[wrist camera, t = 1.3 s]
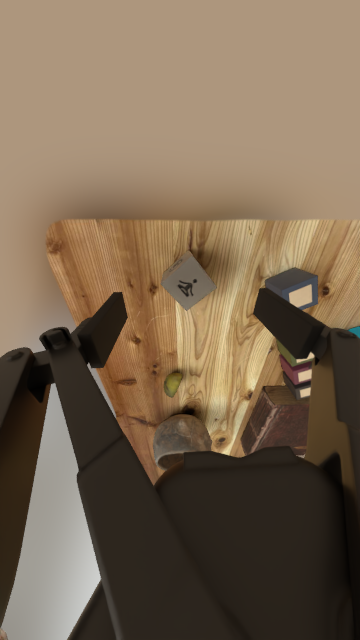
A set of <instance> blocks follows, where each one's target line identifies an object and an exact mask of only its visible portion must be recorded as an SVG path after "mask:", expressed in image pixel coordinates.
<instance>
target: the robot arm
mask: <svg viewBox="0 0 360 640" xmlns="http://www.w3.org/2000/svg"><path fill="white" fill-rule="evenodd" d="M253 314H254V315H255V316H256V317H257V318H258V319H259V320H260V321H261V322H262V323H263V325H264V326H265V327H266V328H267V329H268V330H269V331H270V332H271V333H272V334H273V335H274V336H275V337H276V339H277V340H278V341H279V342H280V343H281V344H282V345H283V346H284V347H285V348H286V349H287V350H288V351H289V353H290V354H291V355H292V356H293V357H294V358H295V359H307V358H308V356H309V354H310V352H311V353H312V354H313V355H315V357H314V359H313V360H312V362H311V364H310V365H309V367H308V369H310V368H311V367H312V374H311V389H310V404H309V419H308V434H307V449H306V454H305V457H304V458H301V457H298V456H296V455H295V454H294V453H293V451H292V449H291V447H290V446H278V447H264V448H262V449H260V450H257V451H255V452H253V453H251V454H249V455H246V456H244V457H242V458H236V457H233V456H229V455H225V454H221V453H217V452H213V451H196V452H183V460H182V461H180V462H177V463H176V464H174V465H173V466H171V467H170V468H169V469H167V470H166V471H165V472H164V473H163V474H162V475H161V477H160V478H159V479H158V480H157V482H156V483H155V485H154V486H153V484H152V482H151V481H150V479H149V477H148V475H147V473H146V472H145V470H144V468H143V466H142V464H141V462H140V461H139V459H138V457H137V455H136V453H135V451H134V450H133V448H132V446H131V444H130V442H129V440H128V439H127V437H126V435H125V434H124V433H123V431H122V429H121V428H120V426H119V424H118V422H117V420H116V418H115V417H114V415H113V413H112V411H111V409H110V407H109V406H108V404H107V402H106V400H105V398H104V396H103V394H102V393H101V391H100V389H99V387H98V385H97V383H96V381H95V380H94V378H93V376H92V374H91V372H90V370H89V369H88V367H87V364H88V362H89V363H90V366H91V368H103V367H104V365H105V363H106V361H107V359H108V357H109V355H110V353H111V351H112V349H113V347H114V345H115V343H116V341H117V338H118V336H119V334H120V332H121V330H122V328H123V326H124V324H125V322H126V320H127V318H128V317H127V312H126V308H125V303H124V298H123V294H122V292H114V293H113V294H112V295H111V296H110V297H109V299H108V300H107V301H106V302H105V303H104V304H103V305H102V307H101V308H100V309H99V310H98V311H97V312H96V313H95V315H94V316H93V317H90V318H87V319H85V320H84V321H82V322H81V324H80V325H79V326H78V327H77V328H76V329H75V330H74V331H73V332H72V333H71V334H70V332H69V330H68V329H67V328H65V327H58V328H53V329H50V330H48V331H46V332H44V333H43V334H42V335H41V336H40V338H39V339H40V341H41V342H42V344H43V346H44V347H45V349H46V351H42V352H37V353H33V352H32V351H31V349H29V348H25V347H23V348H19V349H15V350H12V351H10V352H8V353H6V354H5V355H3V356H2V357H1V358H0V640H8V638H7V635H6V632H5V631H3V630H2V629H1V625H2V622H3V619H4V616H5V612H6V609H7V605H8V602H9V599H10V595H11V592H12V588H13V585H14V580H15V576H16V571H17V567H18V562H19V558H20V553H21V548H22V542H23V536H24V531H25V525H26V520H27V514H28V509H29V503H30V497H31V492H32V487H33V481H34V476H35V470H36V465H37V459H38V454H39V448H40V442H41V437H42V431H43V426H44V420H45V414H46V409H47V404H48V398H49V393H50V387H51V384H53V383H55V384H56V387H57V391H58V395H59V398H60V401H61V405H62V409H63V412H64V416H65V419H66V424H67V427H68V431H69V434H70V438H71V442H72V445H73V449H74V453H75V456H76V460H77V464H78V468H79V472H78V474H77V483H78V488H79V492H80V496H81V500H82V504H83V508H84V512H85V516H86V520H87V524H88V528H89V532H90V536H91V539H92V544H93V548H94V552H95V556H96V560H97V564H98V567H99V571H100V576H101V580H100V582H99V584H98V586H97V587H96V589H95V591H94V593H93V595H92V596H91V598H90V600H89V602H88V603H87V605H86V607H85V609H84V611H83V612H82V614H81V616H80V618H79V619H78V621H77V623H76V625H75V627H74V628H73V630H72V632H71V634H70V635H69V637H68V639H67V640H360V339H359V337H358V336H357V335H356V334H354V333H352V332H350V331H347V330H344V329H339V328H333V329H331V328H329V327H328V326H326V325H325V324H323V323H322V322H320V321H319V320H317V319H315V318H314V317H312V316H311V315H309V314H308V313H306V312H304V311H302V310H301V309H299V308H297V307H296V306H294V305H293V304H291V303H290V302H288V301H287V300H285V299H284V298H282V297H281V296H279V295H277V294H276V293H274V292H273V291H271V290H270V289H268V288H260V289H259V293H258V297H257V301H256V304H255V308H254V312H253Z"/></svg>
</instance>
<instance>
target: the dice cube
mask: <svg viewBox="0 0 360 640" xmlns="http://www.w3.org/2000/svg"><path fill="white" fill-rule="evenodd" d="M161 285H162V286H163V287H164V288H165V289H166V290H167V291H168V292H169V293H170V294H171V295H172V296H173V297H174V299H175V300H176V301H177V302H178V303H179V304H180V305H181V306H182V307H183V308H184V309H185V310H186V311H187V310H188V309H190V308H191V307H192V306H193V305H195V304H196V303H197V302H199V301H200V300H201V299H203V298H204V297H205V296H207V295H208V294H209V293H210V292H212V291H213V290H214V289H216V288H217V287H216V285H215V284H214V283H213V281H212V280H211V278H210V277H209V276H208V274H207V273H206V272H205V270H204V269H203V268H202V266H201V265H200V264H199V262H198V261H197V260H196V259H195V257H194V256H193V255H192V253H191V252H190V251H189V250H188V251H187V252H186V253H185V254H183V255H182V256H181V257H180V258H179V259H178V260H177V261H176V262H175V263H174V264H173V265H172V266H170V267H169V268H168V269H167V270H166V271H165V272H164V273H163V275H162V280H161Z"/></svg>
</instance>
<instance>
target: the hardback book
mask: <svg viewBox="0 0 360 640" xmlns="http://www.w3.org/2000/svg"><path fill="white" fill-rule="evenodd" d="M309 404H310V397H307V398H303V399H300V400H296V398H295V397H294V395H293V394H292V392H291V391H290V390H289V388H288V387H287V386H264V387H263V389H262V392H261V394H260V396H259V399H258V401H257V403H256V406H255V408H254V410H253V413H252V415H251V417H250V420H249V422H248V424H247V427H246V429H245V431H244V433H243V436H242V438H241V444H242V447H243V451H244V453H245V455H249V454H251V453H253V452H255V451H257V450H260V449H262V448H264V447H278V446H290V447H291V449H292V451H293V453H294V454H295V455H304V454H305V453H306V449H307V434H308V419H309Z"/></svg>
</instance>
